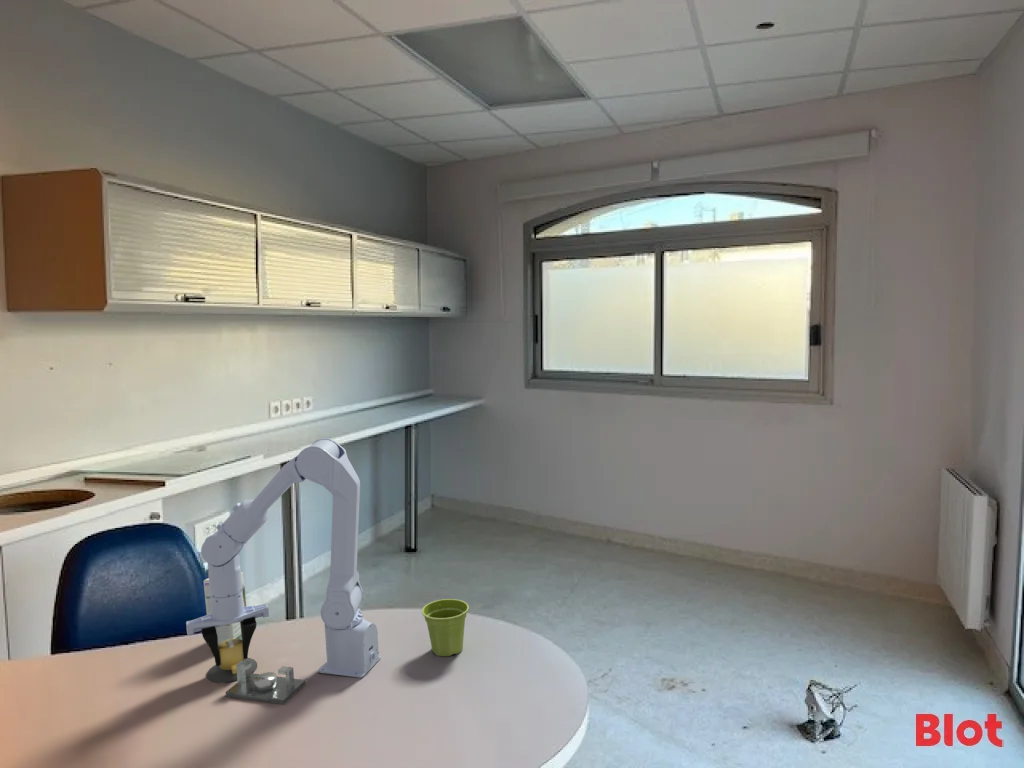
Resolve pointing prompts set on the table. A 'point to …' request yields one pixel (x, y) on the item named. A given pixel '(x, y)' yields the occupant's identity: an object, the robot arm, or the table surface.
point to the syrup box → (230, 629)
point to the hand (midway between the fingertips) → (231, 660)
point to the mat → (228, 673)
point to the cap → (230, 654)
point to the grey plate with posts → (265, 685)
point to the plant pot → (446, 625)
